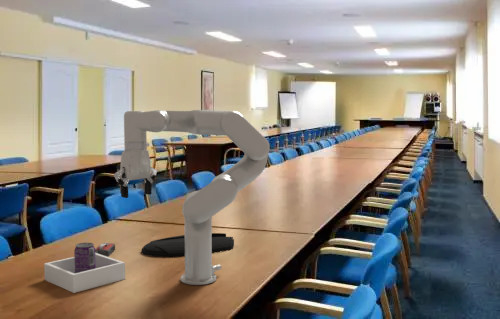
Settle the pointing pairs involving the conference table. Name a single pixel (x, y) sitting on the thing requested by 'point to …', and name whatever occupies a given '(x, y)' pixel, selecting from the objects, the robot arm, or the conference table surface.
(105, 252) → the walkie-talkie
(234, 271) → the conference table surface
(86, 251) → the beverage can
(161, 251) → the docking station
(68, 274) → the walled box
